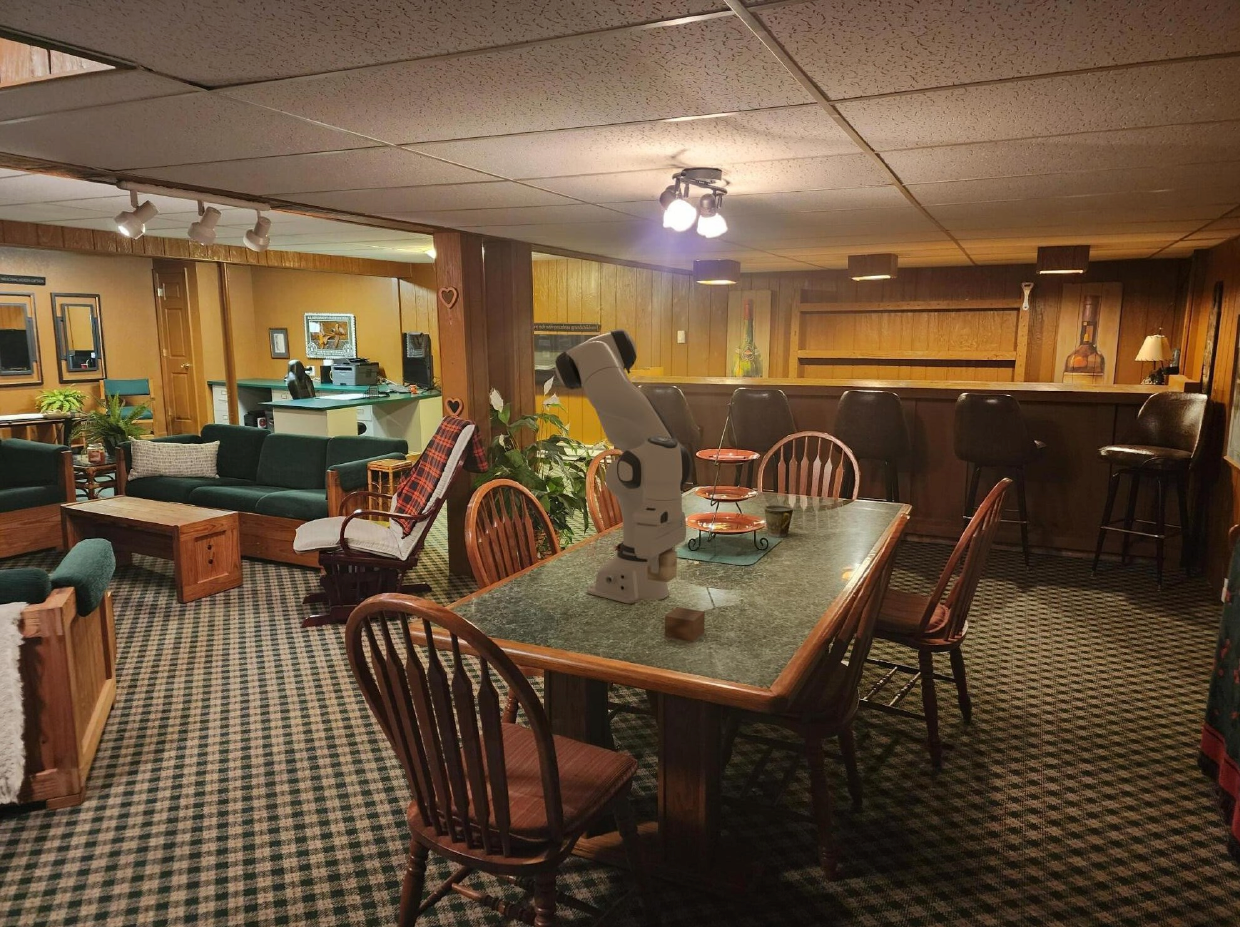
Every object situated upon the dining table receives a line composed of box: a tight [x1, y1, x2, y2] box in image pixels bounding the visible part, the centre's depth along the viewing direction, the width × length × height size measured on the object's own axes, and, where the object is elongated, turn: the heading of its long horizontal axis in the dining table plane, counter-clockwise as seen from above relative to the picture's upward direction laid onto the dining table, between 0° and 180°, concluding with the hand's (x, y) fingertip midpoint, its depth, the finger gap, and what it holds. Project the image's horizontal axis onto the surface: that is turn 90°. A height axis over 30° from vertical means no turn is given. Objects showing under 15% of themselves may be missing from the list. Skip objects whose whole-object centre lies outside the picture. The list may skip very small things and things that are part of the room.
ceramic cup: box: [764, 504, 794, 538], centre depth 284 cm, size 13×10×10 cm
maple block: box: [647, 550, 678, 583], centre depth 182 cm, size 5×5×6 cm
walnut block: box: [664, 606, 706, 643], centre depth 185 cm, size 7×7×5 cm
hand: (661, 568), depth 183 cm, fingers closed on maple block, 5 cm apart
